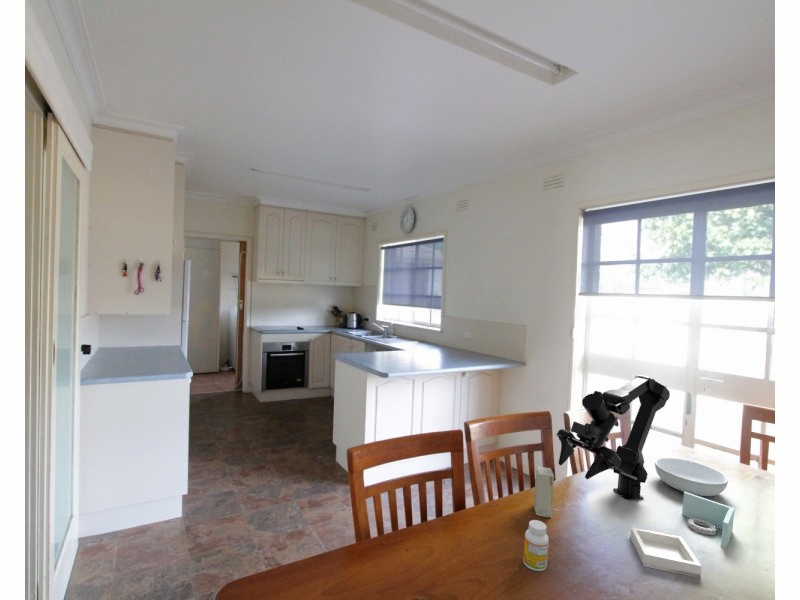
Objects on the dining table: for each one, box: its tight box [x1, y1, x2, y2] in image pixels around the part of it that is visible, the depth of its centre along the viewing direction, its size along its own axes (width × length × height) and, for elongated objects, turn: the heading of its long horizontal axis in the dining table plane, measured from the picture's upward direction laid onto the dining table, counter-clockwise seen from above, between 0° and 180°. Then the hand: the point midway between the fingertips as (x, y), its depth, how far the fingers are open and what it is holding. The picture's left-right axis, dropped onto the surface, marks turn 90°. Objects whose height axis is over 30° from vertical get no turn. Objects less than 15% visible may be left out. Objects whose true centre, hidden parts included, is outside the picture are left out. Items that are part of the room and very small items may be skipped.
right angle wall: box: [681, 492, 735, 550], centre depth 119 cm, size 12×12×8 cm
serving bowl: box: [654, 457, 729, 497], centre depth 144 cm, size 21×21×7 cm
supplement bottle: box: [522, 519, 550, 572], centre depth 99 cm, size 5×5×10 cm
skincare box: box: [533, 466, 555, 519], centre depth 123 cm, size 6×4×12 cm
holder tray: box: [629, 527, 703, 579], centre depth 105 cm, size 12×12×3 cm
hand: (572, 471), depth 121 cm, fingers open, 9 cm apart
